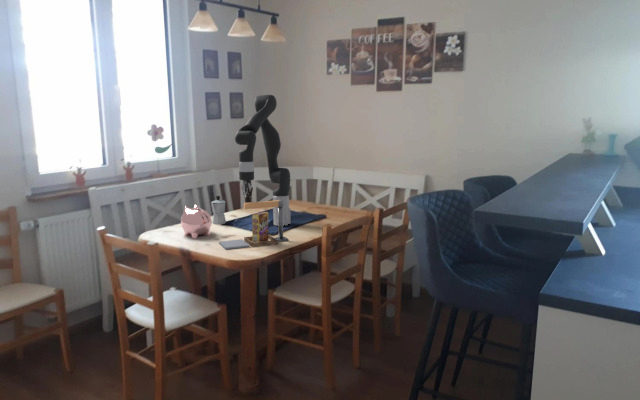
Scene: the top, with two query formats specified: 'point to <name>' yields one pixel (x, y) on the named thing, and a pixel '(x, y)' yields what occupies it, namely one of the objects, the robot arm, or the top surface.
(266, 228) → the candy box
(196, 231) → the piggy bank
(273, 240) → the wooden tray
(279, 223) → the post
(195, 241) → the top surface
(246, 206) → the arm
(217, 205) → the coffee maker
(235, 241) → the mat
